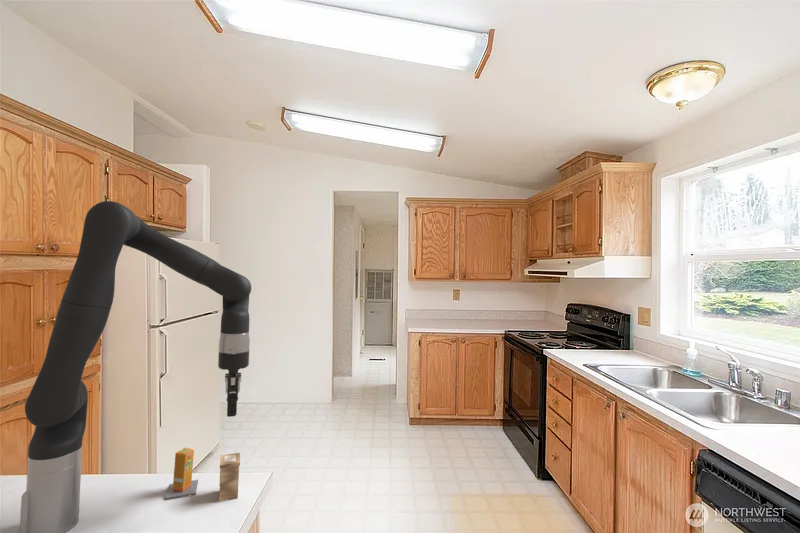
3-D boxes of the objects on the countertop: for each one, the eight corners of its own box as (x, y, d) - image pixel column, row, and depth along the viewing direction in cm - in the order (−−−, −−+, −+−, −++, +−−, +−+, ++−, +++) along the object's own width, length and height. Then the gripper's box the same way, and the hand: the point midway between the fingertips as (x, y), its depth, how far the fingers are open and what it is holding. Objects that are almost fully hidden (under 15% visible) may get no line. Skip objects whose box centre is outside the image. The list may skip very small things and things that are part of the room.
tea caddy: (218, 502, 99) (219, 464, 99) (219, 490, 105) (220, 454, 105) (238, 498, 101) (240, 462, 101) (238, 486, 106) (239, 452, 107)
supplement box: (183, 492, 102) (185, 454, 102) (172, 490, 103) (173, 452, 103) (192, 485, 105) (194, 448, 105) (181, 484, 106) (183, 447, 106)
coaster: (164, 500, 99) (165, 498, 99) (169, 485, 106) (169, 484, 106) (195, 494, 102) (195, 492, 102) (198, 481, 108) (198, 479, 108)
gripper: (219, 344, 109) (217, 403, 108) (217, 355, 95) (214, 421, 95) (248, 343, 112) (246, 400, 111) (250, 353, 98) (247, 418, 98)
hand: (231, 410), depth 103 cm, fingers open, 8 cm apart
